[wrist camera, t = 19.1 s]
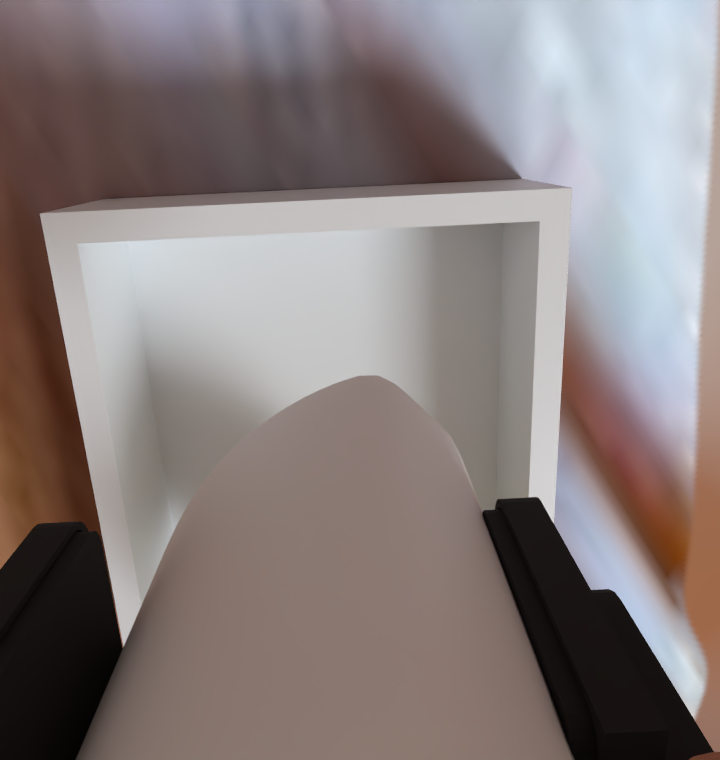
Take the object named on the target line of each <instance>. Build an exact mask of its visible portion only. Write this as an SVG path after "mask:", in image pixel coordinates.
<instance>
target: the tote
mask: <svg viewBox="0 0 720 760" xmlns="http://www.w3.org/2000/svg"><path fill="white" fill-rule="evenodd" d="M571 202H572V188H570V187H565V186H559V185H554V184H548V183H543V182H537V181H532V180H526V179H510V180H489V181H468V182H448V183H427V184H406V185H385V186H364V187H343V188H322V189H302V190H281V191H260V192H239V193H218V194H197V195H177V196H156V197H135V198H114V199H102V200H97V201H93V202H89V203H84V204H80V205H75V206H71V207H66V208H62V209H57V210H53V211H49V212H44V213H40V217H41V223H42V228H43V233H44V238H45V243H46V248H47V254H48V259H49V264H50V269H51V274H52V279H53V285H54V290H55V295H56V300H57V305H58V310H59V316H60V321H61V326H62V331H63V336H64V341H65V347H66V352H67V357H68V362H69V367H70V372H71V378H72V383H73V388H74V393H75V398H76V403H77V409H78V414H79V419H80V424H81V429H82V434H83V440H84V445H85V450H86V455H87V460H88V465H89V471H90V476H91V481H92V486H93V491H94V496H95V502H96V507H97V512H98V517H99V522H100V528H101V533H102V538H103V543H104V548H105V553H106V559H107V564H108V569H109V574H110V579H111V584H112V590H113V595H114V600H115V605H116V610H117V615H118V621H119V626H120V631H121V636H122V641H123V646H124V645H125V643H126V640H127V638H128V636H129V633H130V631H131V629H132V626H133V624H134V622H135V619H136V617H137V615H138V612H139V610H140V608H141V605H142V603H143V601H144V598H145V596H146V594H147V591H148V589H149V587H150V584H151V582H152V580H153V577H154V575H155V573H156V570H157V568H158V566H159V563H160V561H161V559H162V556H163V554H164V552H165V549H166V547H167V545H168V543H169V540H170V538H171V536H172V534H173V532H174V530H175V528H176V526H177V524H178V522H179V520H180V518H181V516H182V515H183V513H184V511H185V509H186V507H187V506H188V504H189V503H190V501H191V500H192V498H193V496H194V495H195V493H196V492H197V490H198V489H199V487H200V486H201V485H202V483H203V482H204V481H205V479H206V478H207V477H208V475H209V474H210V473H211V472H212V471H213V469H214V468H215V467H216V466H217V465H218V463H219V462H220V461H221V460H222V459H223V458H224V457H225V456H226V455H227V454H228V453H229V452H230V451H231V450H232V449H233V448H234V447H235V446H236V445H237V444H238V443H239V442H240V441H241V440H242V439H243V438H245V437H246V436H247V435H248V434H249V433H251V432H252V431H253V430H254V429H256V428H257V427H258V426H259V425H261V424H262V423H264V422H265V421H266V420H268V419H269V418H271V417H272V416H273V415H275V414H277V413H278V412H280V411H281V410H283V409H285V408H286V407H288V406H290V405H291V404H293V403H295V402H297V401H299V400H300V399H302V398H304V397H306V396H308V395H310V394H312V393H314V392H316V391H318V390H321V389H323V388H325V387H328V386H330V385H333V384H335V383H337V382H340V381H343V380H346V379H350V378H353V377H356V376H365V375H378V376H380V377H382V378H384V379H386V380H388V381H390V382H392V383H394V384H396V385H397V386H398V387H400V388H401V389H402V390H403V391H404V392H405V393H406V394H408V395H409V396H410V397H411V398H412V399H413V400H414V401H415V402H416V403H417V404H418V405H419V406H420V407H421V408H422V409H424V410H425V411H426V412H427V413H428V414H429V415H430V416H431V417H432V418H433V419H434V420H435V421H436V422H437V423H438V424H439V425H440V426H441V427H442V428H443V429H444V430H445V431H446V432H447V433H448V434H449V435H450V436H451V438H452V440H453V442H454V444H455V446H456V447H457V449H458V451H459V453H460V455H461V458H462V460H463V463H464V465H465V468H466V470H467V473H468V475H469V478H470V481H471V483H472V486H473V488H474V491H475V493H476V496H477V499H478V501H479V504H480V506H481V509H482V512H483V511H484V510H495V505H496V501H497V500H498V499H508V498H527V497H538V498H539V499H540V500H541V502H542V504H543V505H544V507H545V509H546V511H547V513H548V514H549V516H550V518H551V520H552V522H553V523H554V510H555V492H556V474H557V456H558V438H559V419H560V401H561V383H562V365H563V347H564V329H565V311H566V293H567V274H568V256H569V238H570V220H571Z"/></svg>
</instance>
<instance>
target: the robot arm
mask: <svg viewBox="0 0 720 760" xmlns="http://www.w3.org/2000/svg"><path fill="white" fill-rule="evenodd" d="M482 515H483V517H484V520H485V522H486V525H487V528H488V530H489V533H490V535H491V538H492V541H493V543H494V546H495V549H496V551H497V554H498V556H499V559H500V562H501V564H502V567H503V570H504V572H505V575H506V578H507V580H508V583H509V586H510V588H511V591H512V593H513V596H514V599H515V601H516V604H517V607H518V609H519V612H520V615H521V617H522V620H523V623H524V625H525V628H526V631H527V633H528V636H529V639H530V641H531V644H532V646H533V649H534V652H535V654H536V657H537V660H538V662H539V665H540V668H541V670H542V673H543V676H544V678H545V681H546V683H547V686H548V689H549V691H550V694H551V697H552V700H553V703H554V705H555V708H556V711H557V714H558V716H559V719H560V722H561V725H562V728H563V730H564V733H565V736H566V739H567V741H568V744H569V747H570V750H571V753H572V755H573V757H574V759H575V760H720V752H714V751H713V750H712V748H711V746H710V745H709V743H708V742H707V740H706V739H705V737H704V735H703V733H702V732H701V730H700V729H699V727H698V725H697V724H696V722H695V720H694V719H693V717H692V715H691V714H690V712H689V711H688V709H687V707H686V706H685V704H684V702H683V701H682V699H681V698H680V696H679V694H678V693H677V691H676V689H675V688H674V686H673V684H672V683H671V681H670V680H669V678H668V676H667V675H666V673H665V671H664V670H663V668H662V667H661V665H660V663H659V662H658V660H657V658H656V657H655V655H654V653H653V652H652V650H651V649H650V647H649V645H648V644H647V642H646V640H645V639H644V637H643V636H642V634H641V632H640V631H639V629H638V627H637V626H636V624H635V622H634V621H633V619H632V618H631V616H630V614H629V613H628V611H627V609H626V608H625V606H624V605H623V603H622V601H621V600H620V598H619V597H618V596H617V595H616V593H615V592H613V591H611V590H609V589H604V590H591V589H590V588H589V586H588V584H587V582H586V581H585V579H584V577H583V575H582V573H581V572H580V570H579V568H578V566H577V564H576V563H575V561H574V559H573V557H572V556H571V554H570V552H569V550H568V548H567V547H566V545H565V543H564V541H563V539H562V538H561V536H560V534H559V532H558V531H557V529H556V527H555V525H554V523H553V522H552V520H551V518H550V516H549V514H548V513H547V511H546V509H545V507H544V505H543V504H542V502H541V500H540V499H539V498H538V497H527V498H508V499H498V500H497V501H496V505H495V510H484V511H483V513H482ZM122 650H123V649H122V644H121V638H120V633H119V628H118V623H117V618H116V613H115V608H114V603H113V598H112V593H111V588H110V583H109V578H108V572H107V567H106V562H105V557H104V552H103V547H102V542H101V538H100V536H99V534H98V533H97V532H96V531H88V530H87V528H86V526H85V524H84V523H82V522H81V521H80V522H61V523H43V524H37V525H36V526H35V527H34V528H33V529H32V530H31V532H30V533H29V534H28V535H27V537H26V538H25V539H24V540H23V542H22V543H21V544H20V545H19V547H18V548H17V549H16V550H15V552H14V553H13V554H12V556H11V557H10V558H9V559H8V561H7V562H6V563H5V564H4V566H3V567H2V568H1V569H0V760H76V757H77V755H78V753H79V750H80V748H81V746H82V743H83V741H84V739H85V736H86V734H87V732H88V729H89V727H90V724H91V722H92V720H93V717H94V715H95V713H96V710H97V708H98V706H99V703H100V701H101V699H102V696H103V694H104V692H105V689H106V687H107V685H108V682H109V680H110V677H111V675H112V673H113V670H114V668H115V666H116V663H117V661H118V659H119V656H120V654H121V652H122Z"/></svg>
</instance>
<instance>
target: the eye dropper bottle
mask: <svg viewBox="0 0 720 760" xmlns="http://www.w3.org/2000/svg"><path fill="white" fill-rule="evenodd" d="M482 513H483V512H482V509H481V506H480V504H479V501H478V499H477V496H476V493H475V491H474V488H473V486H472V483H471V481H470V478H469V475H468V473H467V470H466V468H465V465H464V463H463V460H462V458H461V455H460V453H459V451H458V449H457V447H456V446H455V444H454V442H453V440H452V438H451V436H450V435H449V434H448V433H447V432H446V431H445V430H444V429H443V428H442V427H441V426H440V425H439V424H438V423H437V422H436V421H435V420H434V419H433V418H432V417H431V416H430V415H429V414H428V413H427V412H426V411H425V410H424V409H422V408H421V407H420V406H419V405H418V404H417V403H416V402H415V401H414V400H413V399H412V398H411V397H410V396H409V395H408V394H406V393H405V392H404V391H403V390H402V389H401V388H400V387H398V386H397V385H396V384H394V383H392V382H390V381H388V380H386V379H384V378H382V377H380V376H378V375H365V376H356V377H353V378H350V379H346V380H343V381H340V382H337V383H335V384H333V385H330V386H328V387H325V388H323V389H321V390H318V391H316V392H314V393H312V394H310V395H308V396H306V397H304V398H302V399H300V400H299V401H297V402H295V403H293V404H291V405H290V406H288V407H286V408H285V409H283V410H281V411H280V412H278V413H277V414H275V415H273V416H272V417H271V418H269V419H268V420H266V421H265V422H264V423H262V424H261V425H259V426H258V427H257V428H256V429H254V430H253V431H252V432H251V433H249V434H248V435H247V436H246V437H245V438H243V439H242V440H241V441H240V442H239V443H238V444H237V445H236V446H235V447H234V448H233V449H232V450H231V451H230V452H229V453H228V454H227V455H226V456H225V457H224V458H223V459H222V460H221V461H220V462H219V463H218V465H217V466H216V467H215V468H214V469H213V471H212V472H211V473H210V474H209V475H208V477H207V478H206V479H205V481H204V482H203V483H202V485H201V486H200V487H199V489H198V490H197V492H196V493H195V495H194V496H193V498H192V500H191V501H190V503H189V504H188V506H187V507H186V509H185V511H184V513H183V515H182V516H181V518H180V520H179V522H178V524H177V526H176V528H175V530H174V532H173V534H172V536H171V538H170V540H169V543H168V545H167V547H166V549H165V552H164V554H163V556H162V559H161V561H160V563H159V566H158V568H157V570H156V573H155V575H154V577H153V580H152V582H151V584H150V587H149V589H148V591H147V594H146V596H145V598H144V601H143V603H142V605H141V608H140V610H139V612H138V615H137V617H136V619H135V622H134V624H133V626H132V629H131V631H130V633H129V636H128V638H127V640H126V643H125V645H124V647H123V650H122V652H121V654H120V656H119V659H118V661H117V663H116V666H115V668H114V670H113V673H112V675H111V677H110V680H109V682H108V685H107V687H106V689H105V692H104V694H103V696H102V699H101V701H100V703H99V706H98V708H97V710H96V713H95V715H94V717H93V720H92V722H91V724H90V727H89V729H88V732H87V734H86V736H85V739H84V741H83V743H82V746H81V748H80V750H79V753H78V755H77V757H76V760H575V759H574V757H573V755H572V753H571V750H570V747H569V744H568V741H567V739H566V736H565V733H564V730H563V728H562V725H561V722H560V719H559V716H558V714H557V711H556V708H555V705H554V703H553V700H552V697H551V694H550V691H549V689H548V686H547V683H546V681H545V678H544V676H543V673H542V670H541V668H540V665H539V662H538V660H537V657H536V654H535V652H534V649H533V646H532V644H531V641H530V639H529V636H528V633H527V631H526V628H525V625H524V623H523V620H522V617H521V615H520V612H519V609H518V607H517V604H516V601H515V599H514V596H513V593H512V591H511V588H510V586H509V583H508V580H507V578H506V575H505V572H504V570H503V567H502V564H501V562H500V559H499V556H498V554H497V551H496V549H495V546H494V543H493V541H492V538H491V535H490V533H489V530H488V528H487V525H486V522H485V520H484V517H483V515H482Z"/></svg>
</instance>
